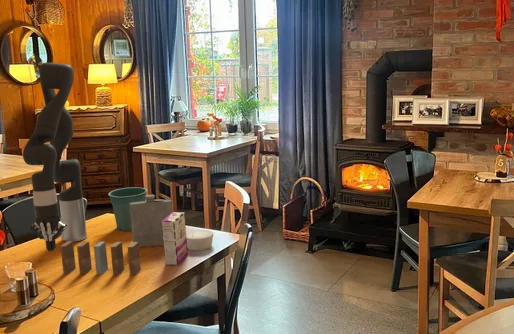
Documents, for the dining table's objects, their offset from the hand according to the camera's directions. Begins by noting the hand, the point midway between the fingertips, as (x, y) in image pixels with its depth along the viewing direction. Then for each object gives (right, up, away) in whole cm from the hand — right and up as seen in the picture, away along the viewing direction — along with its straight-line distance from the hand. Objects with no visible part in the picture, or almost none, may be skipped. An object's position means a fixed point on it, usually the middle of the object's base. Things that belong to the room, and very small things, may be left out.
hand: (51, 250), depth 182 cm
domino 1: (+6, -7, +1) cm, 10 cm away
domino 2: (+12, -7, 0) cm, 14 cm away
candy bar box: (+42, -5, +7) cm, 43 cm away
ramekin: (+49, -2, +20) cm, 53 cm away
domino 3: (+18, -7, -1) cm, 19 cm away
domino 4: (+24, -7, -2) cm, 25 cm away
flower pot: (+16, +2, +49) cm, 51 cm away
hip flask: (+31, -2, +25) cm, 40 cm away
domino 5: (+30, -7, -3) cm, 31 cm away
